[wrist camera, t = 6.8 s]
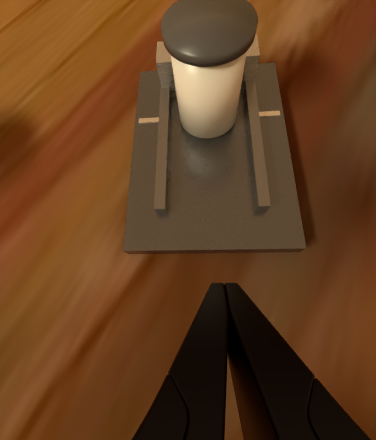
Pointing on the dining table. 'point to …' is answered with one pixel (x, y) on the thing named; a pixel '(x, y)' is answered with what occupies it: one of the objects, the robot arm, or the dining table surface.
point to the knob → (208, 60)
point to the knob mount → (212, 172)
